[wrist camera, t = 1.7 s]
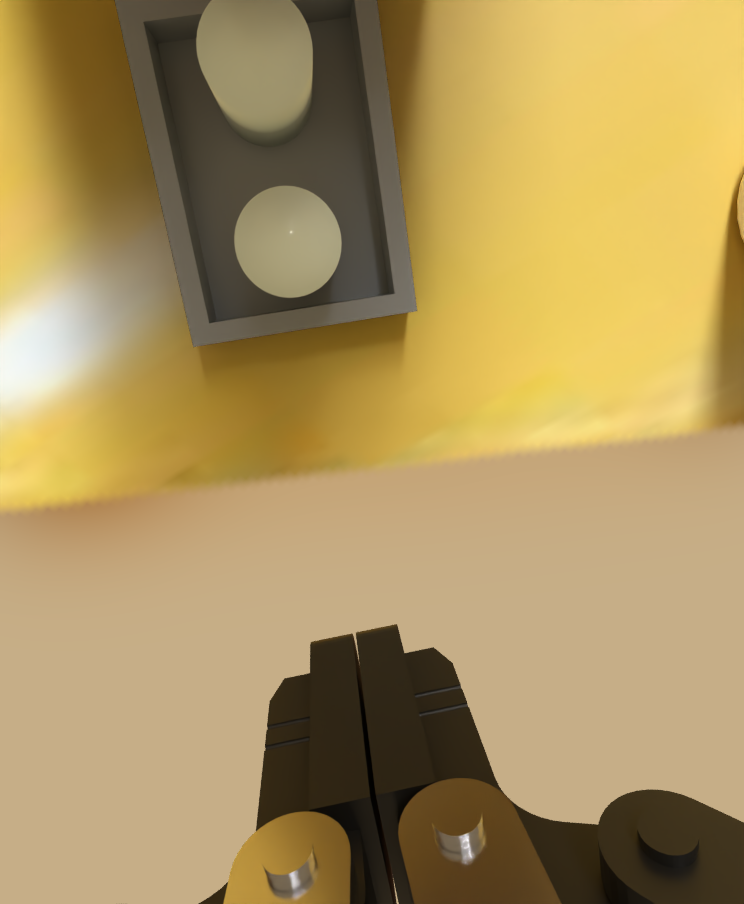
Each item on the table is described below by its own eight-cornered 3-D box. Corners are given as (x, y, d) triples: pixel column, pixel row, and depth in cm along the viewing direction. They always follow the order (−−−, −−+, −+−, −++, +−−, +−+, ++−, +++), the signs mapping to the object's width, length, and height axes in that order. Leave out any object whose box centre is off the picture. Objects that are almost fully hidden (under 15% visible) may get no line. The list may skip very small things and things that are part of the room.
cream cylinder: (210, 50, 24) (184, -10, 19) (303, 38, 24) (302, -24, 19) (229, 152, 25) (209, 120, 20) (319, 140, 25) (321, 105, 20)
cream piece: (242, 211, 25) (224, 193, 20) (329, 198, 25) (332, 178, 21) (258, 301, 26) (245, 304, 21) (343, 289, 26) (348, 289, 22)
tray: (136, 30, 24) (114, -2, 21) (365, -1, 24) (372, -37, 22) (205, 341, 27) (193, 347, 24) (407, 308, 28) (417, 311, 25)
